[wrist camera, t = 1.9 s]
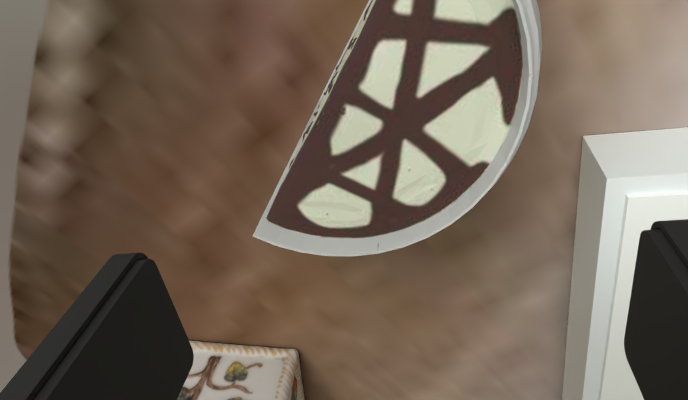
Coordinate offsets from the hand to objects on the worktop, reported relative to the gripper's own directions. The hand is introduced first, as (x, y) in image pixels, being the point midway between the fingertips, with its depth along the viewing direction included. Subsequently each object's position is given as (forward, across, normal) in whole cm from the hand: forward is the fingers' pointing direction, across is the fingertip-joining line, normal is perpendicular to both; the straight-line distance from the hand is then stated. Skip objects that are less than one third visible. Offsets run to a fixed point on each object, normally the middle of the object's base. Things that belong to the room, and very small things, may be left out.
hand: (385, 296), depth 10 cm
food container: (+16, -1, 0) cm, 16 cm away
